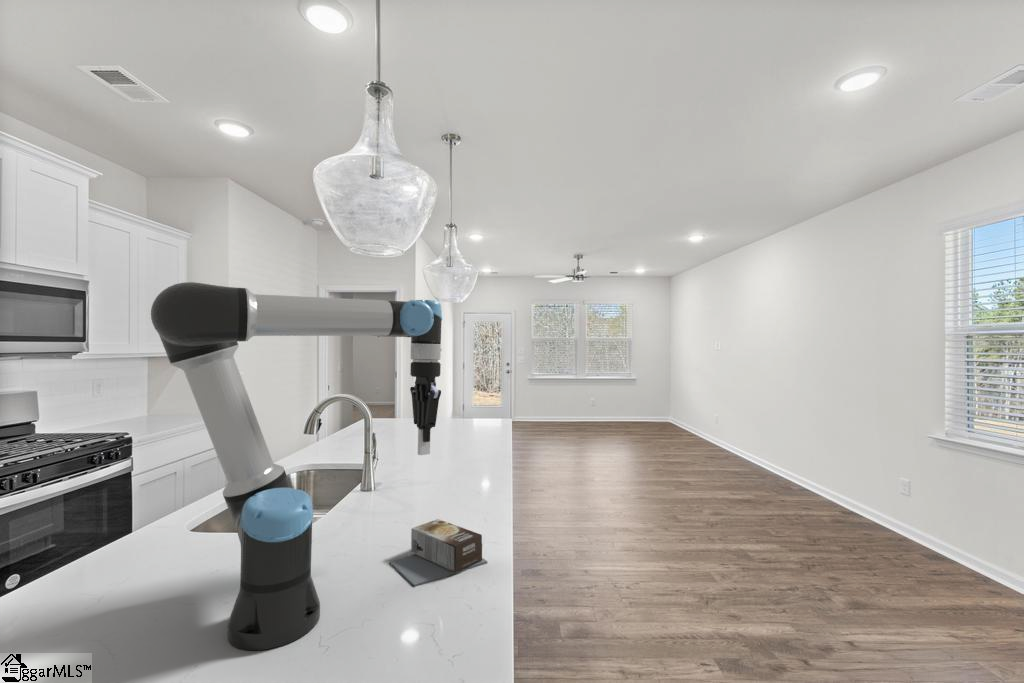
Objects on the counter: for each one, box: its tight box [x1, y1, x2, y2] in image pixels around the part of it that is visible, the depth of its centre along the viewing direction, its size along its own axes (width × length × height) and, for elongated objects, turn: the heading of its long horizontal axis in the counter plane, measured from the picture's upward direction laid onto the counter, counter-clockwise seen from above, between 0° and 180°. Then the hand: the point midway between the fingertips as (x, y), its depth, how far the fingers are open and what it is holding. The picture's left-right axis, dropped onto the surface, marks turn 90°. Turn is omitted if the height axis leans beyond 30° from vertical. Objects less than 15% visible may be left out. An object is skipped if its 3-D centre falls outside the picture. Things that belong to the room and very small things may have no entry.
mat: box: [389, 553, 488, 587], centre depth 110 cm, size 19×14×1 cm
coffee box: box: [410, 518, 483, 574], centre depth 112 cm, size 9×6×16 cm
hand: (423, 454), depth 116 cm, fingers closed
